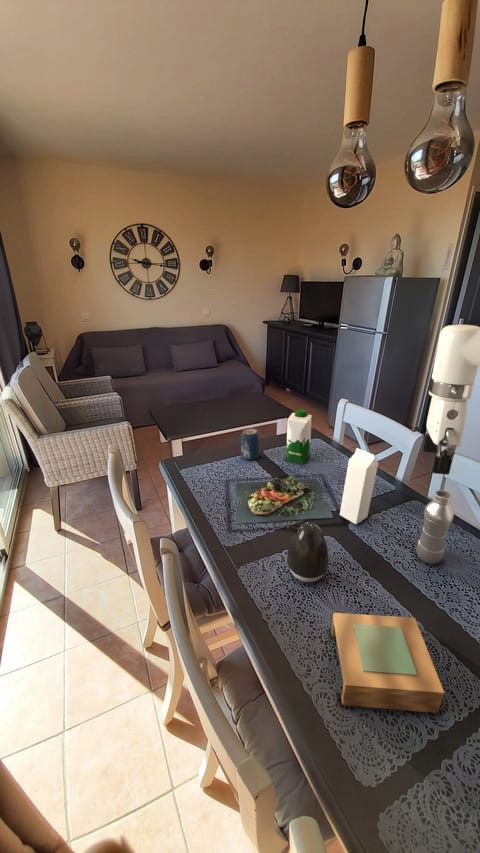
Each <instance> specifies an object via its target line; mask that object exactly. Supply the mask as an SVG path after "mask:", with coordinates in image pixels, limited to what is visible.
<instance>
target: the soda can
mask: <svg viewBox="0 0 480 853" xmlns="http://www.w3.org/2000/svg"><path fill="white" fill-rule="evenodd" d="M240 437H241V442H240V443H241V457H242V459H243V460H245V461H249V462H250V461H255V460H257V459H258V458H259V456H260V434H259V432H258V430H257V429H256V428H253V427H247V428H244V429H242V433H241V436H240Z"/></svg>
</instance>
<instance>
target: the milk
mask: <svg viewBox="0 0 480 853" xmlns="http://www.w3.org/2000/svg"><path fill="white" fill-rule="evenodd" d="M375 457H376V455H375V454H373V453H370V452H368V451H365V450H363V449H361V448H358V447H357V448H355V452H354V454H352V456H351V457H350V458H349V460H348V462H347V470H346V475H345V481H344V486H343V492H342V499H341V504H340V510H339V516H340V517H342V518H344V519H346V520H347V521H348V522H351V523H352V524H353V525H354V524H355V525H358V524H359V523H361V522H363V520H365V519H366V518H368V516H369V511H370V506H371V501H372V496H373V490H374V486H375V481H376V476H377V472H378V468H379V467H378V466H379V462H378V461H377V460H375Z"/></svg>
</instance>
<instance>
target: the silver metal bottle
mask: <svg viewBox="0 0 480 853" xmlns="http://www.w3.org/2000/svg"><path fill="white" fill-rule="evenodd" d="M452 498H453V496H452V494H451V492H449V491H447V490H443V489H437V490H435V492H434V494H433V497H432V499H433V500H431V501H429V503H427V504H426V505H425V507H424V512H423V513H424V514H423V515H424V516H423V517H424V518H423V524H422V526H423V527H422V531H421V534H420V537H419V539H418V541H417V543H416V546H415V547H416V548H415V550H416V551H415V552H416V556H418V558H419V559H420V560H421V561H422V562H423V563H426V564H430V565H436V564H439V563H440V562H441V561H442V560H443V558H444V556H445V544H446V537H447V534H448V530H449V528H450V526H451V524H452V522H453V520H454V517H455V516H454V511H453V508H452V506H451V503H452Z"/></svg>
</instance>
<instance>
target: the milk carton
mask: <svg viewBox="0 0 480 853" xmlns="http://www.w3.org/2000/svg"><path fill="white" fill-rule="evenodd" d="M286 422H287V423H286V426H287V427H286V461H288V462H293V463H300V464H305V463H306V461H307V459H308V457H309V455H310V450H311V440H312V439H311V436H312V414H308V413H307V409H305V408H297V409H295V412H292V413H291V414H290V415H289V417H288V418H287V421H286Z"/></svg>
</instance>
